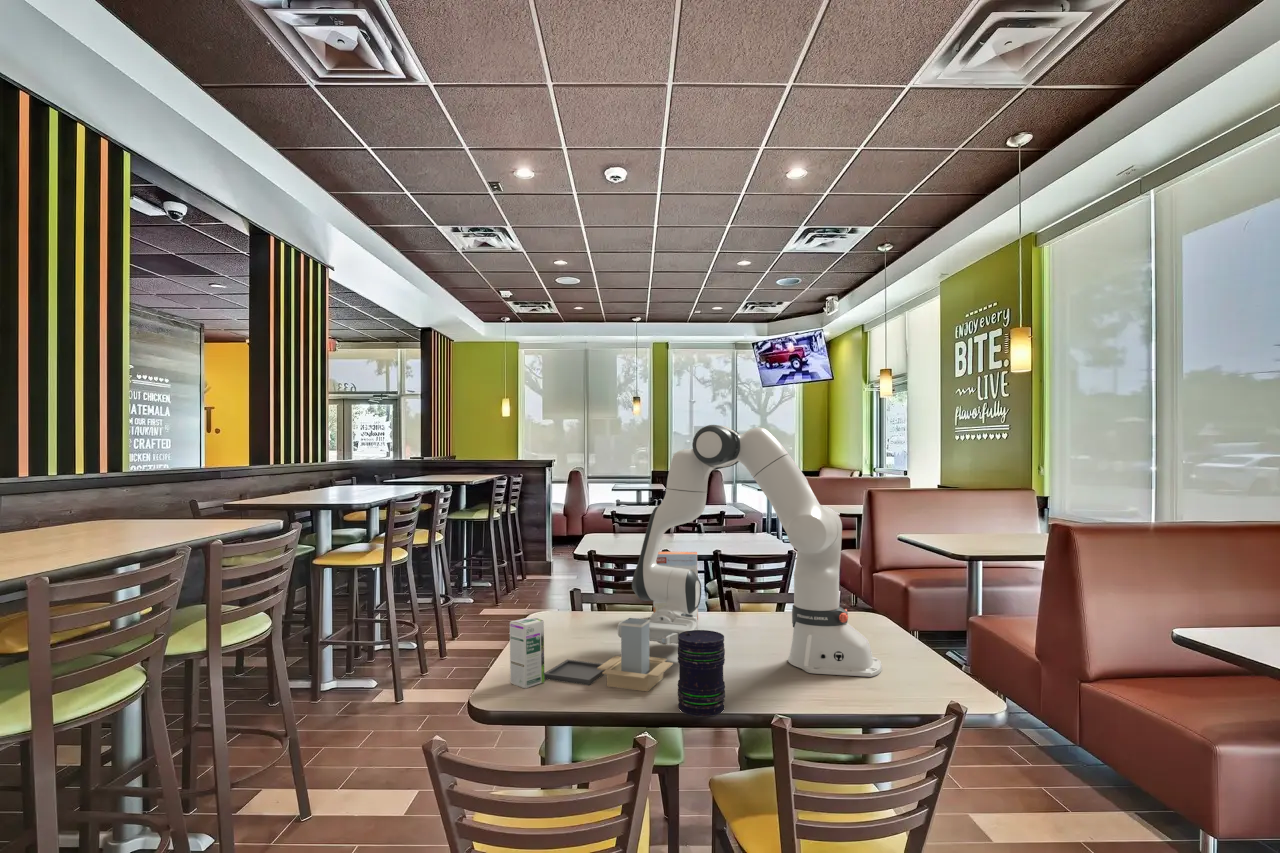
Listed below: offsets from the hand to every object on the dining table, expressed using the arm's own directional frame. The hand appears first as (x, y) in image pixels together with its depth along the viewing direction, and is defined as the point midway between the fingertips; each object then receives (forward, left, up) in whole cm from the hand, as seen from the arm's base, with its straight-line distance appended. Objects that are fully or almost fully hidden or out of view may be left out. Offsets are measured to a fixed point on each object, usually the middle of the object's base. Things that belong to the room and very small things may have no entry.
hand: (646, 639), depth 172 cm
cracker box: (+11, -53, -8) cm, 55 cm away
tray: (+15, +7, -8) cm, 18 cm away
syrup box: (+23, +17, -8) cm, 30 cm away
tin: (0, +7, -8) cm, 11 cm away
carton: (0, +7, -8) cm, 11 cm away
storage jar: (-19, +17, -8) cm, 27 cm away
